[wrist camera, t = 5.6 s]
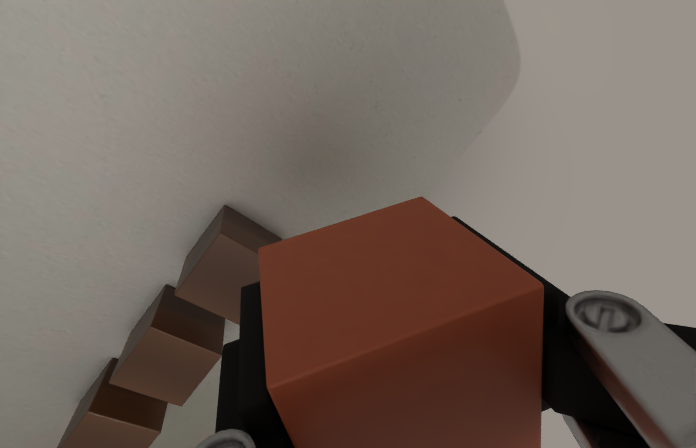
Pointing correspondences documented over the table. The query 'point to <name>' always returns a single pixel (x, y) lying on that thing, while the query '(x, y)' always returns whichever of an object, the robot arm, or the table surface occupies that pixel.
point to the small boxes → (172, 340)
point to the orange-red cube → (401, 335)
